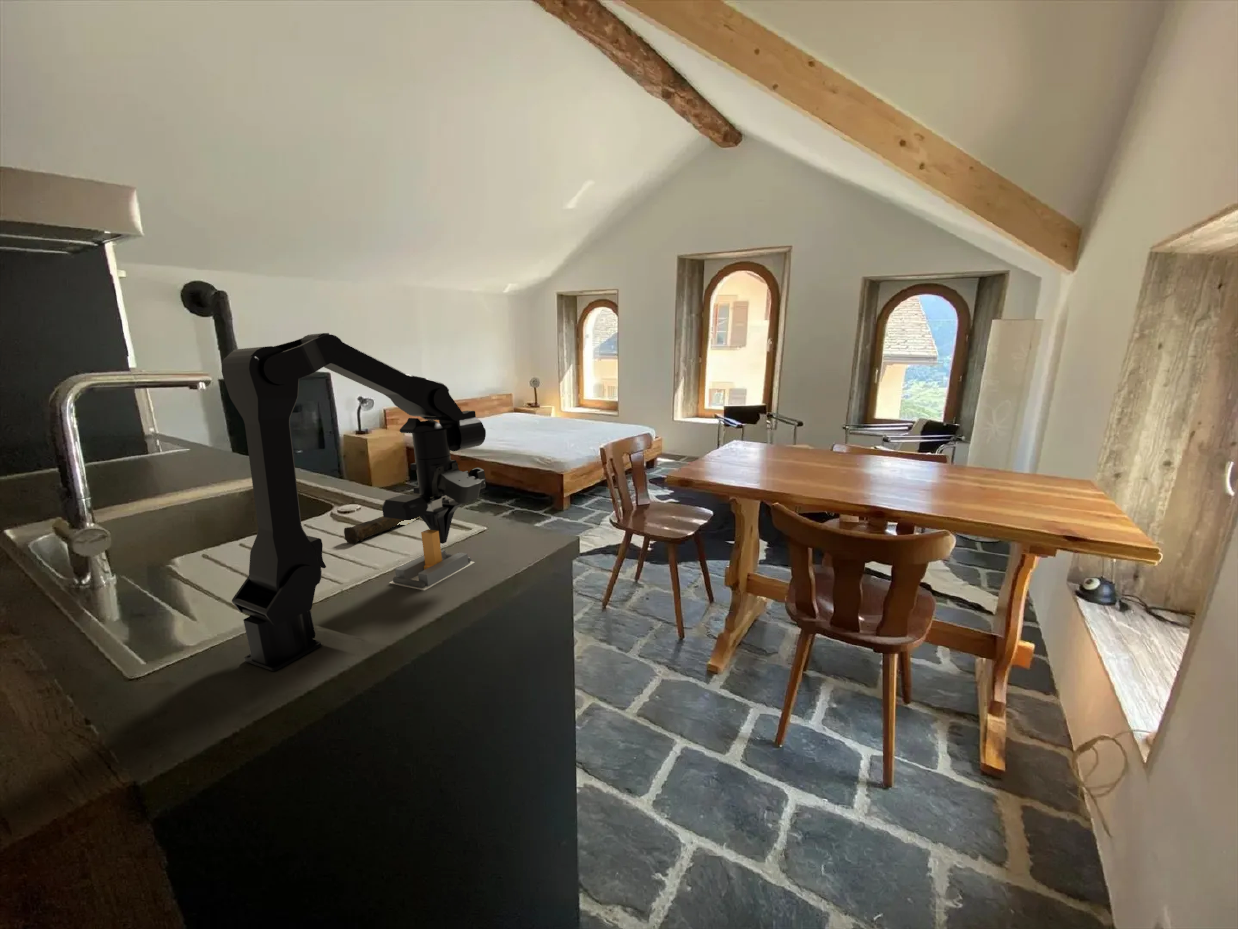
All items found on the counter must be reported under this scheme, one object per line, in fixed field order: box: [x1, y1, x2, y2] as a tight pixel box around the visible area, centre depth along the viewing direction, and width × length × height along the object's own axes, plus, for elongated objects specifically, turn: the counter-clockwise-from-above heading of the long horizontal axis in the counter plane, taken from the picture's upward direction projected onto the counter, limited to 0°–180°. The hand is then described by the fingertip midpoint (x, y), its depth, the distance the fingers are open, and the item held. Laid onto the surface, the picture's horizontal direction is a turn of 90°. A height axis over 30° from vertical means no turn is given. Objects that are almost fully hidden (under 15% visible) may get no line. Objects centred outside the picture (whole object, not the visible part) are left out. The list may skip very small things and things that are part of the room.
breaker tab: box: [420, 529, 442, 570], centre depth 88 cm, size 2×2×7 cm
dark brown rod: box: [343, 515, 404, 545], centre depth 117 cm, size 19×4×5 cm, turn 151°
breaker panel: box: [388, 549, 476, 591], centre depth 89 cm, size 12×8×4 cm, turn 155°
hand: (442, 542), depth 91 cm, fingers closed
